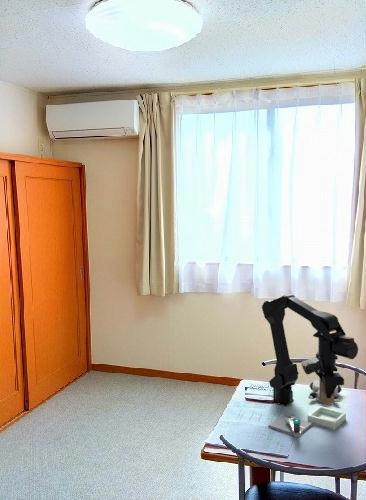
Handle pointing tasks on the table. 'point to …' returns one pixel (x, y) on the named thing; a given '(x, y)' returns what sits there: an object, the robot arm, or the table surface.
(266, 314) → the robot arm
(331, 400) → the brown block
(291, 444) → the table surface
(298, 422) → the crank
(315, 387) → the robot toy
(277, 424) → the crank base
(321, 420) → the tray
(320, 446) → the table surface
